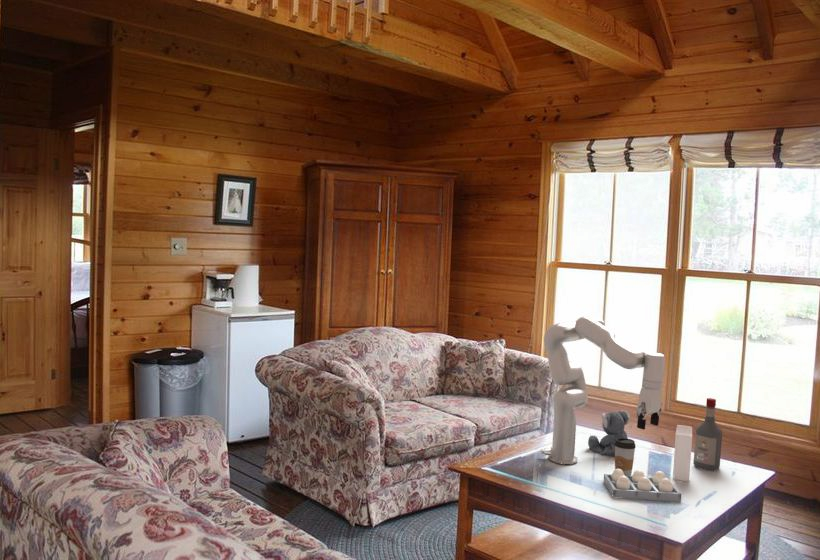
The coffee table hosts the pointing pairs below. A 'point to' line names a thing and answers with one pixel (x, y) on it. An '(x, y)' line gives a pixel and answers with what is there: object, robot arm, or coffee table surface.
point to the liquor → (708, 441)
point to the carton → (639, 486)
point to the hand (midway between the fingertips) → (647, 426)
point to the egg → (665, 485)
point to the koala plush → (610, 432)
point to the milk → (682, 453)
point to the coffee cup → (624, 455)
